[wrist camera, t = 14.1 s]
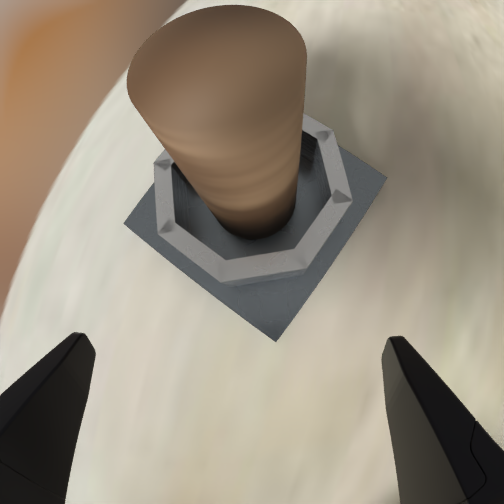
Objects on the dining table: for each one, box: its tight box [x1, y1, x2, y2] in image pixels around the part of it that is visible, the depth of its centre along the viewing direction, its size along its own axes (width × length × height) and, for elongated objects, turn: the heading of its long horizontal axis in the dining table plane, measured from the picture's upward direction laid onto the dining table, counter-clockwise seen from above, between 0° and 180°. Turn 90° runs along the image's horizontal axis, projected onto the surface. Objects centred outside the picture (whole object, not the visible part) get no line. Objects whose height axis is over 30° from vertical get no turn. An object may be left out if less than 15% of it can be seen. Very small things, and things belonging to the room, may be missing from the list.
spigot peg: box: [127, 5, 307, 240], centre depth 13 cm, size 5×5×12 cm
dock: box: [123, 113, 387, 342], centre depth 18 cm, size 12×12×4 cm
